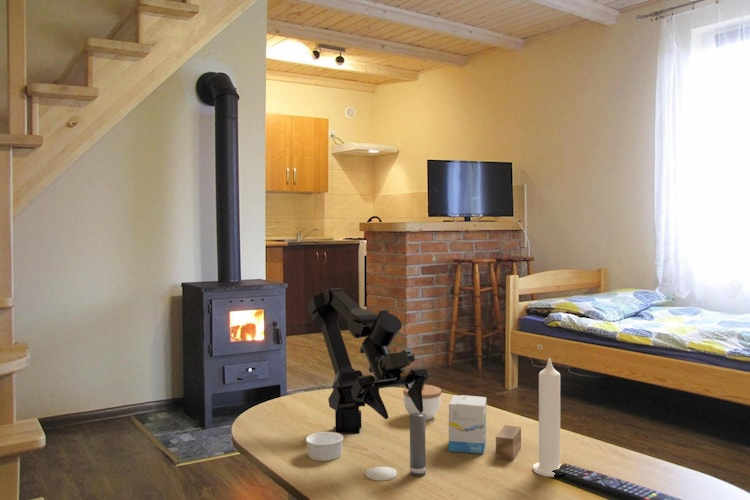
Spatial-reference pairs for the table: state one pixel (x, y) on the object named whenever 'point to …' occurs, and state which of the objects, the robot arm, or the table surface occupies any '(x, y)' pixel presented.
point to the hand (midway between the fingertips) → (404, 415)
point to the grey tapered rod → (417, 445)
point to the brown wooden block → (508, 442)
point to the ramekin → (324, 446)
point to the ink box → (467, 424)
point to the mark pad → (381, 473)
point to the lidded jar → (425, 401)
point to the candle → (549, 422)
